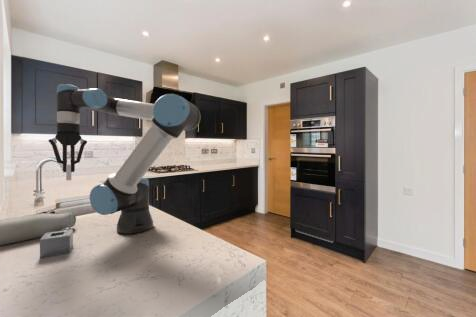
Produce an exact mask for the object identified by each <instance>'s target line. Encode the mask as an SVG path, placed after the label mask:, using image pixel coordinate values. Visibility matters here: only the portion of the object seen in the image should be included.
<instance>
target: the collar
mask: <svg viewBox="0 0 476 317" xmlns="http://www.w3.org/2000/svg"><path fill="white" fill-rule="evenodd" d="M73 229H74V228H73ZM73 229H72V228H70V230H64V229H62V230H59V231H55V232H48V233H45V234H44V235H43V237H40V238H39V258H46V257H47V256H50V257H54V256H53V255H56V256H59V255H58V254H60V255H63V254H70V253H71V252H72V250H71V248H73V245H74V231H73Z"/></svg>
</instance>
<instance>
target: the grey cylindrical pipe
mask: <svg viewBox="0 0 476 317" xmlns="http://www.w3.org/2000/svg"><path fill="white" fill-rule="evenodd" d="M49 213H50V212H47V213H43V212H41V213H34V214H29V215H22V216H17V217H9V218H3V219H0V246H4V245H5V244H6V245H11V244H15V242H16V243H20V241H21V242H26V241H30V239H31V240H35V238H36V239H41V238H42V237H43V235H44V234H45V233H48V232H55V231H63V230H64V228H68V227H70V229H72V227H73V228H74V226H75V225H76V222H77V217H76V214H75V213H74V212H73V211H72V212H71V211H65V212H61V213H58V214H56V213H55V214H51V213H50V214H49ZM25 240H26V241H25ZM10 243H11V244H10ZM6 245H5V246H6Z"/></svg>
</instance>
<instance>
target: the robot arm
mask: <svg viewBox="0 0 476 317" xmlns="http://www.w3.org/2000/svg"><path fill="white" fill-rule="evenodd" d="M55 95H56V122H57V123H56V135H55V137H53V138H50V139H48V143H49V144H50V145H51V147H52V151H53V153H54V156H55V158H56V163H58V164H60V165H61V164H62V172H63V173H65V176H66V177H65V178H66V181H72V173H75V170H76V168H75V167H76V166H75V165H76V164H78V163H80V162H81V159H82V155H83V151H84V148H85V146H86V145H87V143H88V141H87V140H86V139H83V138H82V136H81V130H80V128H81V127H80V122H81V120H80V116H81V114H80V110H82V109H84V110H85V109H90V110H94V111H98V112H102V113H107V114H110V115H112V116H119V117H120V116H121V117H126V118H133V119H139V120H144V121H150V122H151V126H150V127H149V129H148V130H147V131H146V133H145V134H144V136H143V137H142V139H141V140H140V141H139V142H138V144H137V145H136V146H135V147H134V149H133V150H132V152H131V153H130V155H129V156H128V157H127V159H126V160H125V161H124V163H122V165H121V167H120V168H119V169H118V170H117V172H116V173H112V174H110V175H109V176H108V177H107V178H106V180H105V181H104V182H103V183H102V184H101V183H100V184H96V185H94V187H93V188H92V189H91V190H90V192H89V201H90V203H89V204H90V206H91V208H92V209H93V210H94V212H96V213H97V214H99V215H101V216H102V215H103V216H107V215H113V214H115V213H117V212H118V213H119V212H120V214H119V217H118V218H119V219H118V221H117V225H116V232H117V233H119V234H120V233H121V234H136V233H142V232H146V231H148V230H151V229H152V228H153V227H154V220H153V218H152V214H151V212H150V184H149V183H150V181H149V179H148V178H145V177H144V176H145V174H146V173H147V172H148V171H149V169H150V168H152V165H154V163H155V161H156V160H157V159H158V158H159V157H160V155H161V153H162V152H164V149H165V148H166V147H167V146H168V145H169V143H170V142H171V140H173V139H175V140H176V139H178V138H179V137H180V136H181V134H182V133H183V131H184V132H189V131H192V130H195V129H197V127H198V126H199V125H200V123H201V118H202V117H201V112H200V110H199V108H198V107H197V106H196V105H195V104H194V103H192V102H190V101H188V100H187V99H186V98H184V97H183V96H181V95H178V94H175V93H166V94H164V95H161V96H159V98H157V100H156V101H155V102H154V103H150V102H143V101H137V100H131V99H130V100H129V99H123V98H117V97H113V96H109V95H107V94H106V93H105V92H104V91H103V90H102V89H101V88H84V89H80V88H79V87H78V86H76V85H73V84H65V83H62V84H61V83H60V84H58V85H57V88H56V94H55ZM58 142H59V143H60V144H61V145H62V158H61V155H60V152H59V149H58V145H57V143H58ZM78 143H79V144H80V146H79V148H78V149H79V150H78V152H77V157H76V158H75V156H76V155H75V153H76V152H75V147H76V145H78ZM68 146H69V147H70V163H69V164H68Z"/></svg>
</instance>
